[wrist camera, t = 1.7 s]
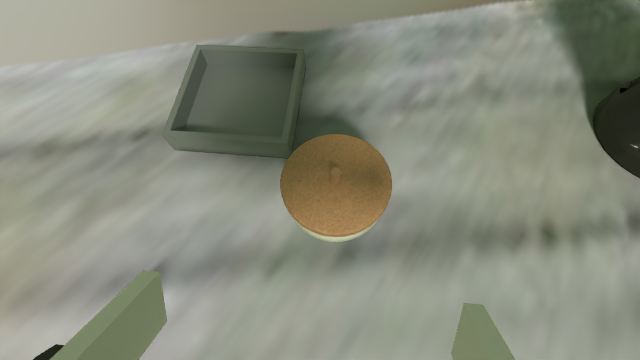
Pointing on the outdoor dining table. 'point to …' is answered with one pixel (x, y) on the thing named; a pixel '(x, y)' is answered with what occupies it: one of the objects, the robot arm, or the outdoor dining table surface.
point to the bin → (238, 101)
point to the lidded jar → (336, 187)
